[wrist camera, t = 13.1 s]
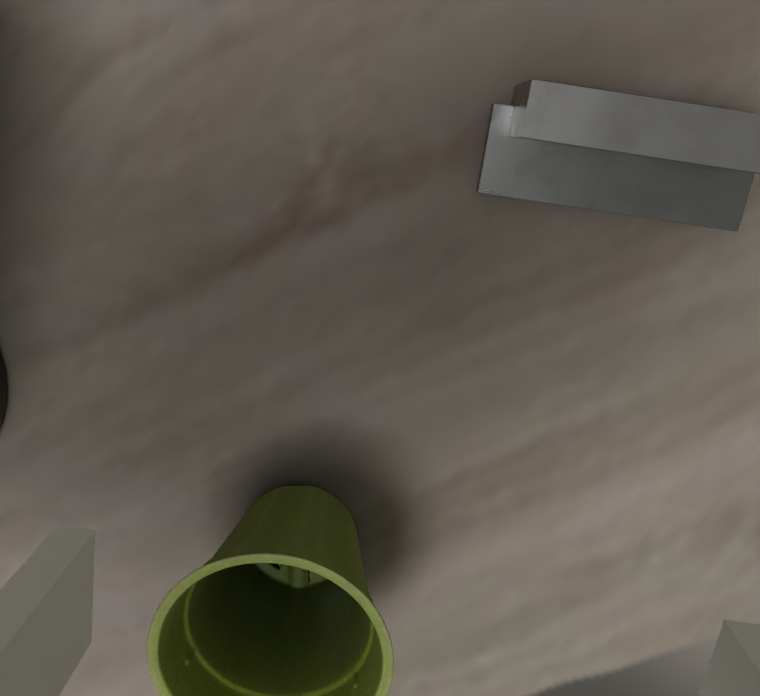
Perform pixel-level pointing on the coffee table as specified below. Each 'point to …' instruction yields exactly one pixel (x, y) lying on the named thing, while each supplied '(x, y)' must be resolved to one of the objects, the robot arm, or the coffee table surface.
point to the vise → (622, 154)
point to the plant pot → (275, 610)
